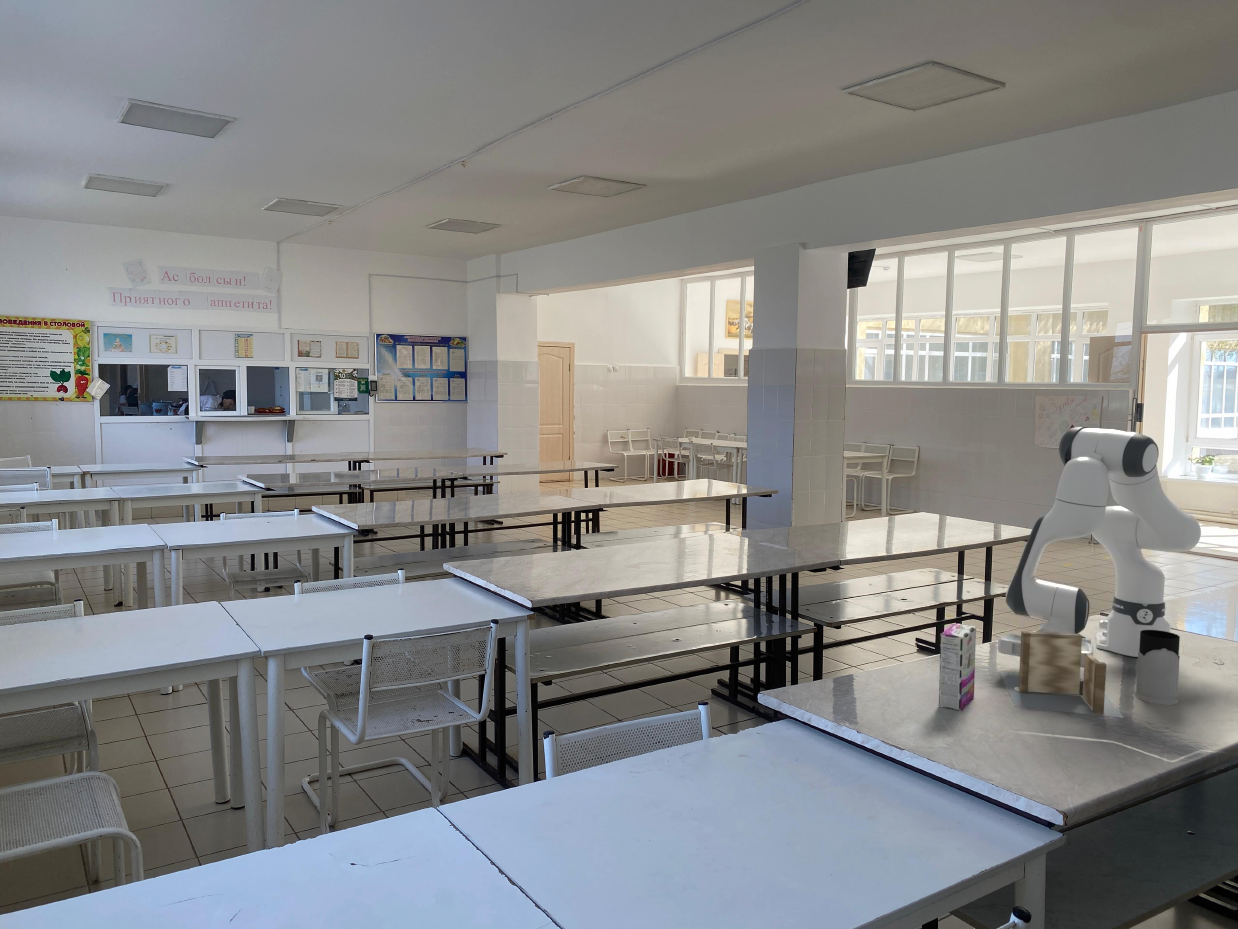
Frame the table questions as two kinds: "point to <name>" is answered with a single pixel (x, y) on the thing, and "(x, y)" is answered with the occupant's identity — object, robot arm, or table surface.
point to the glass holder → (1158, 667)
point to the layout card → (1054, 699)
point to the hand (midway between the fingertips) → (1038, 658)
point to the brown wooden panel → (1050, 662)
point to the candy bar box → (957, 666)
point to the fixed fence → (1094, 683)
